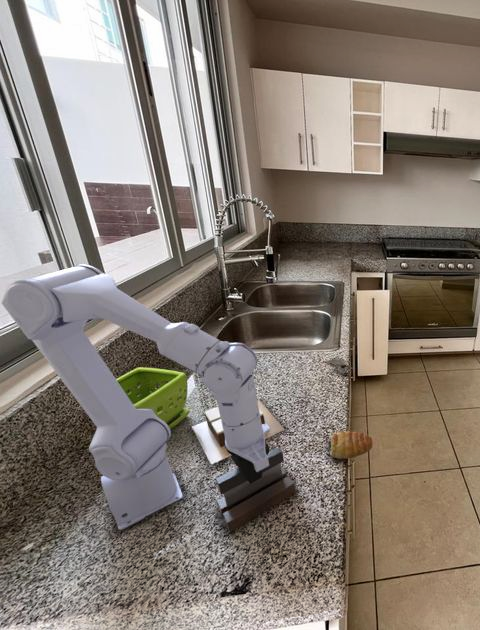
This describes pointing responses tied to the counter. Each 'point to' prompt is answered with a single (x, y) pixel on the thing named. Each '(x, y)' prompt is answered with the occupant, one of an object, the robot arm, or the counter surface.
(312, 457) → the counter surface
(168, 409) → the flower pot
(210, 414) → the cake back
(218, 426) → the cake front
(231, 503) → the knife
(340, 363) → the meat cleaver
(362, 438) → the pastry
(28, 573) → the counter surface
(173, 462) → the counter surface
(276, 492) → the stand
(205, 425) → the cake board
